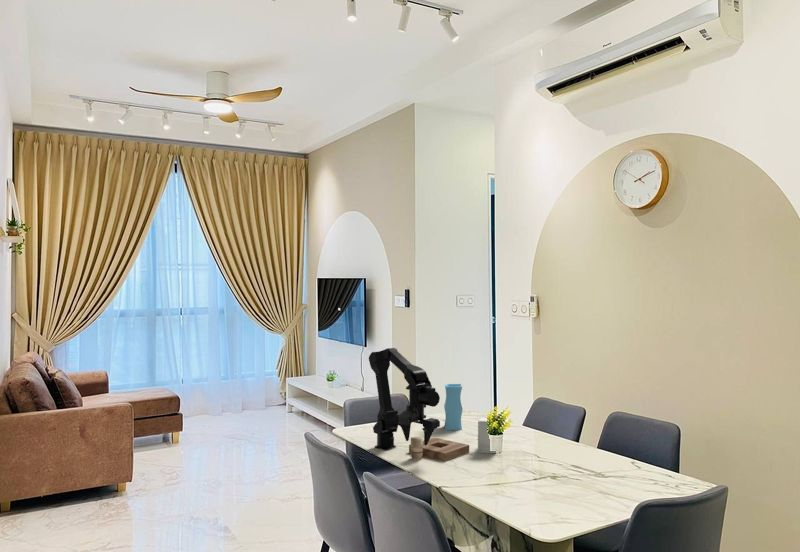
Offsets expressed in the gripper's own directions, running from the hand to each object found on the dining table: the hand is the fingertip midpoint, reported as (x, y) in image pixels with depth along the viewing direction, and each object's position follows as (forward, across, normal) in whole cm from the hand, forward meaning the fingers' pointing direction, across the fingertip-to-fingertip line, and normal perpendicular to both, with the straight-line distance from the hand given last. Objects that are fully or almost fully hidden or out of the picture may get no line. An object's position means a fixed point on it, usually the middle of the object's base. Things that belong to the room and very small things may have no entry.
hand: (416, 442), depth 233 cm
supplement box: (+6, +14, +28) cm, 32 cm away
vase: (+6, -19, +50) cm, 54 cm away
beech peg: (+6, 0, 0) cm, 6 cm away
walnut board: (+6, +1, +13) cm, 14 cm away
